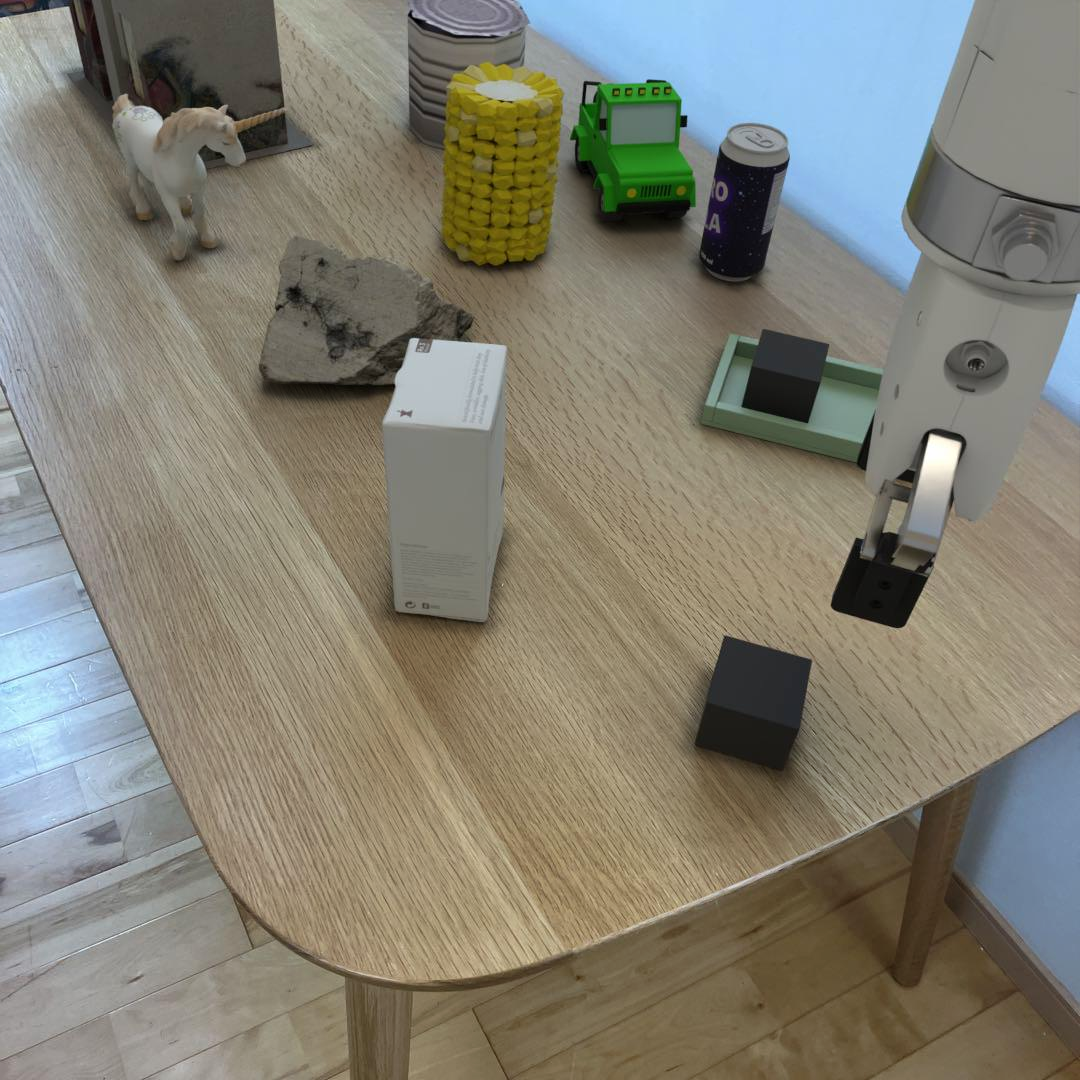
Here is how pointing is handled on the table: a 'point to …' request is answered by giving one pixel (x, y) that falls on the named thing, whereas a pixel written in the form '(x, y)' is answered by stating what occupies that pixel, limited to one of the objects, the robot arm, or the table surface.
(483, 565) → the cosmetic box
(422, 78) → the can
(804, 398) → the black block
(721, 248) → the beverage can
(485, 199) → the food
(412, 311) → the stone
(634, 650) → the table surface
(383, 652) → the table surface
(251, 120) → the unicorn figurine
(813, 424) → the tray
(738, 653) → the black cube
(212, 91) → the bookend
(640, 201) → the toy car
